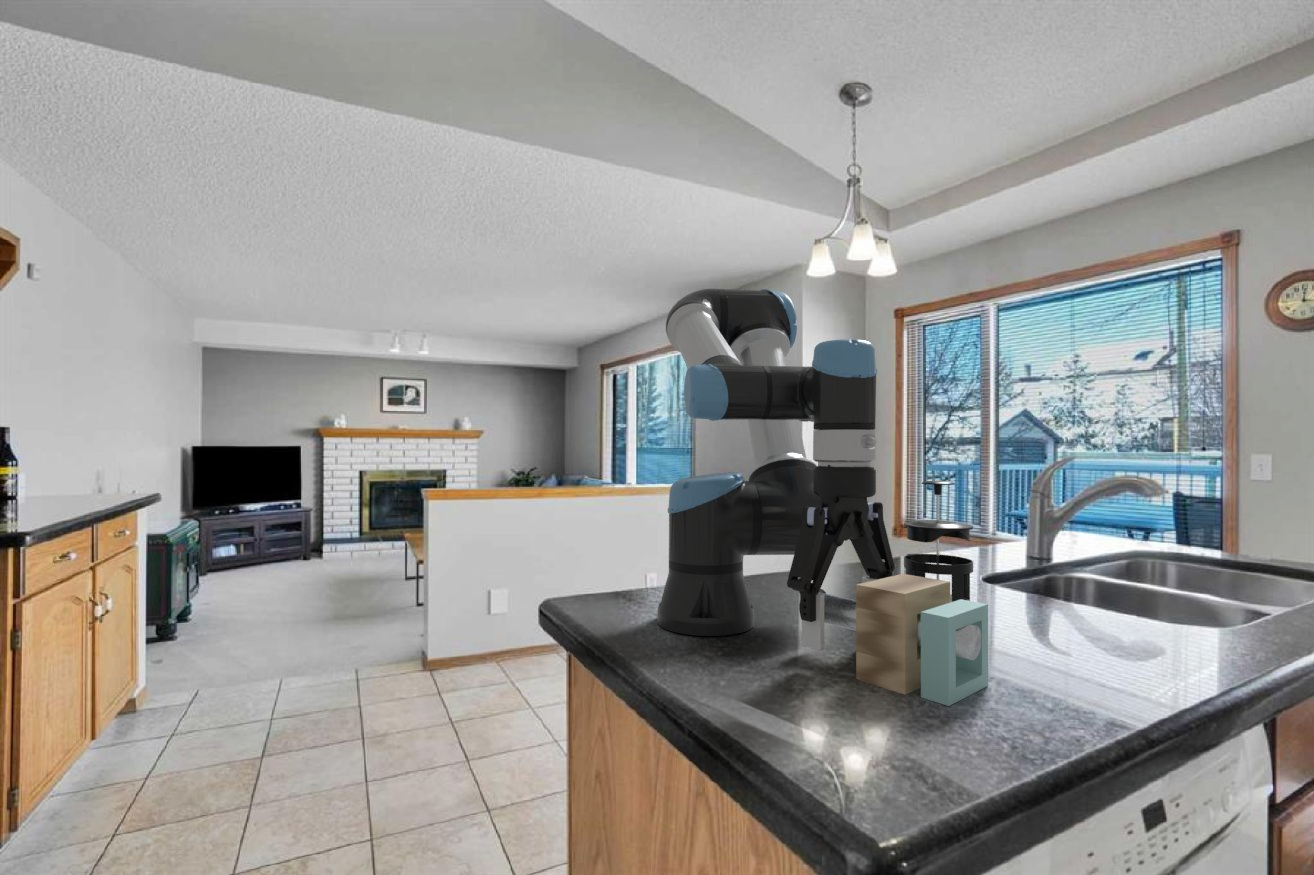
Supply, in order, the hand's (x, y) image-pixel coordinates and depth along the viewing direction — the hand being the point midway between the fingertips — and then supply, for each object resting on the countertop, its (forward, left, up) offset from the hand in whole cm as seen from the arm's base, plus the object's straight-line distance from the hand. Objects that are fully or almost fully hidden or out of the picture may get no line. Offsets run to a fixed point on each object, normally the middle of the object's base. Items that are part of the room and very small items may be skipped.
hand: (844, 637), depth 81 cm
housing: (+8, 0, -4) cm, 9 cm away
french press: (+2, +19, -4) cm, 20 cm away
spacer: (+14, 0, -3) cm, 14 cm away
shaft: (+5, 0, +1) cm, 5 cm away
